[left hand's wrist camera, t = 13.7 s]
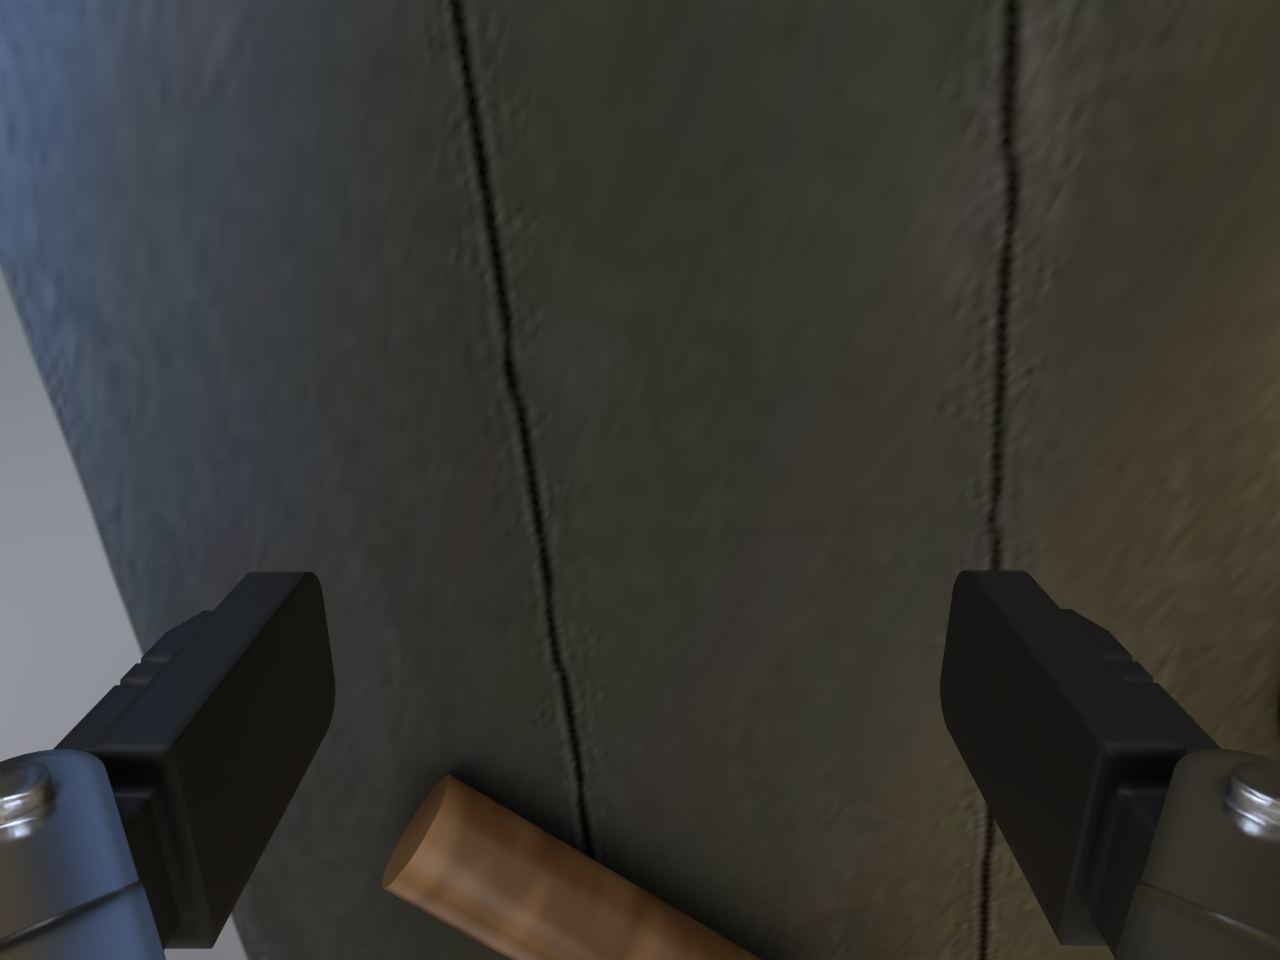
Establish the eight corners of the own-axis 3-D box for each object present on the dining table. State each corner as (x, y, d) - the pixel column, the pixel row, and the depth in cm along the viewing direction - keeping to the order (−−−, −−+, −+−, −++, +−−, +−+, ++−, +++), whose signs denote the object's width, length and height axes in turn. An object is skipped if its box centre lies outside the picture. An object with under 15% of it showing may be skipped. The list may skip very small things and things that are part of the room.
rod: (402, 825, 49) (367, 913, 43) (461, 752, 47) (432, 833, 41) (758, 1030, 53) (769, 1134, 48) (824, 969, 51) (843, 1070, 46)
